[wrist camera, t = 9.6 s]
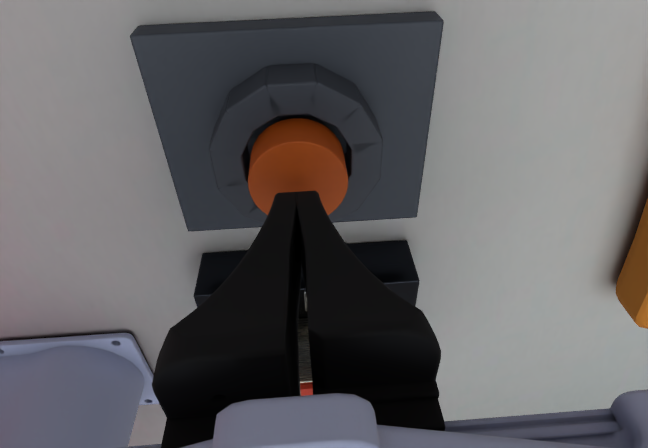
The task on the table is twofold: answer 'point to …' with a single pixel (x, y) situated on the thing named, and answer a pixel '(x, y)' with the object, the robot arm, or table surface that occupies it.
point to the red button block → (304, 358)
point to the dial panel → (378, 257)
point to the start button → (297, 163)
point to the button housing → (292, 105)
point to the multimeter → (636, 275)
